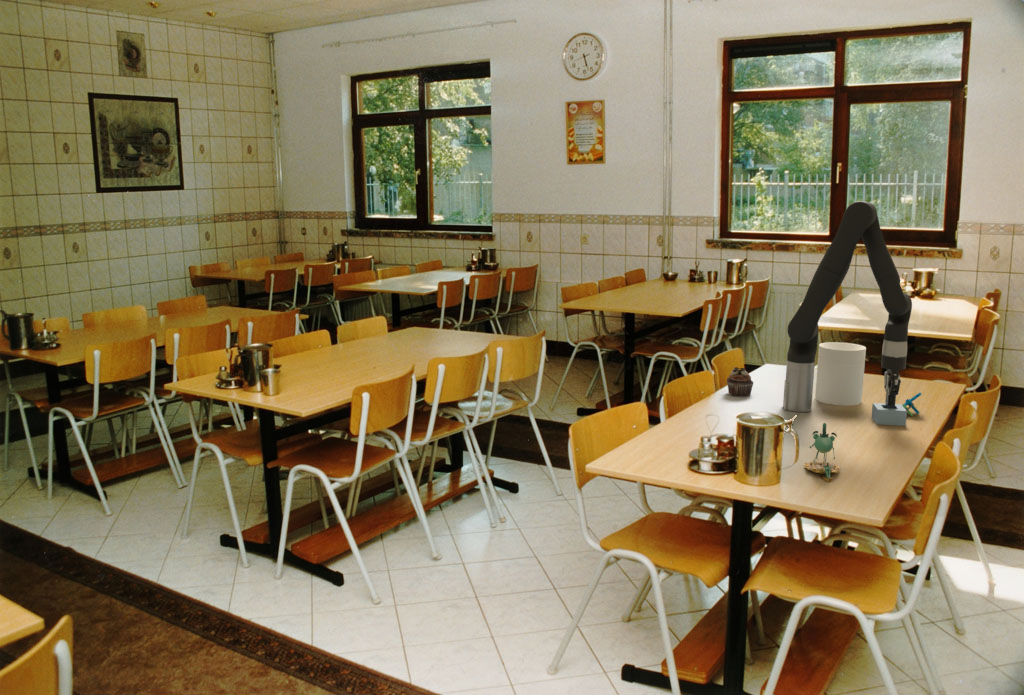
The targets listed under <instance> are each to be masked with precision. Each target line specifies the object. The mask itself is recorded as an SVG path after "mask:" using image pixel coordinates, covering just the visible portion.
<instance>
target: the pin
mask: <svg viewBox="0 0 1024 695" xmlns="http://www.w3.org/2000/svg"><path fill="white" fill-rule="evenodd" d="M890 386H891V385H890ZM892 391H895V389H893V390H892ZM885 399H886V402H885V403H884V404H885V408H889V409H895V406H888V405H887V404H888V388H887V391H885ZM896 401H897V400H896V399H895V403H896Z"/></svg>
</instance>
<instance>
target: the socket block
mask: <svg viewBox="0 0 1024 695" xmlns="http://www.w3.org/2000/svg"><path fill="white" fill-rule="evenodd" d="M902 405H903V404H901V403H895V409H889V408H885V403H883V402H882V403H881V402H880V403H879V402H872V405H871V406H872V407H871V408H872V409H871V415H870V416H871V419H872V420H873V421H874V423H875V424H876V425H880V426H881V425H884V426H885V425H886V426H899V427H900V426H901V427H906V426H907V416H908V415H907V414H908V412H907V411H906V409H905V408H904V407H903V406H902Z"/></svg>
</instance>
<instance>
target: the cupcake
mask: <svg viewBox="0 0 1024 695" xmlns="http://www.w3.org/2000/svg"><path fill="white" fill-rule="evenodd" d="M730 372H731V373H729V375H728V377H727V379H726V384H727V389H728V395H730V396H732V397H733V396H734V397H739V398H744V397H749V396H751V393H752V390H753V386H754V381H753V380H752V377H751V375H750V374H749V373H748V371H746V368H745V367H740V368H739V367H736V366H735V367H734V368H732V370H731V371H730Z"/></svg>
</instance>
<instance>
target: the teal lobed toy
mask: <svg viewBox="0 0 1024 695" xmlns="http://www.w3.org/2000/svg"><path fill="white" fill-rule="evenodd" d="M921 395H922V393H921V392H919V393H916V394H915V395H914V396H912V397H911V398H910V399H909V398H908V399H906V400H905V402H904V403H902V404H901V405H902V406H903V407H904V408H905V409H906V411H907V414H908V415H909V416H910V417H913V416H914V414H913V413H912V412H911V411H910V409H912V410H913V411H914V412H915V413H916V415H919V413H920V411H919V410H918V408H917V407H915V403H914V401H916V399H918V398H919V397H921ZM907 406H908V407H907Z"/></svg>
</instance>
